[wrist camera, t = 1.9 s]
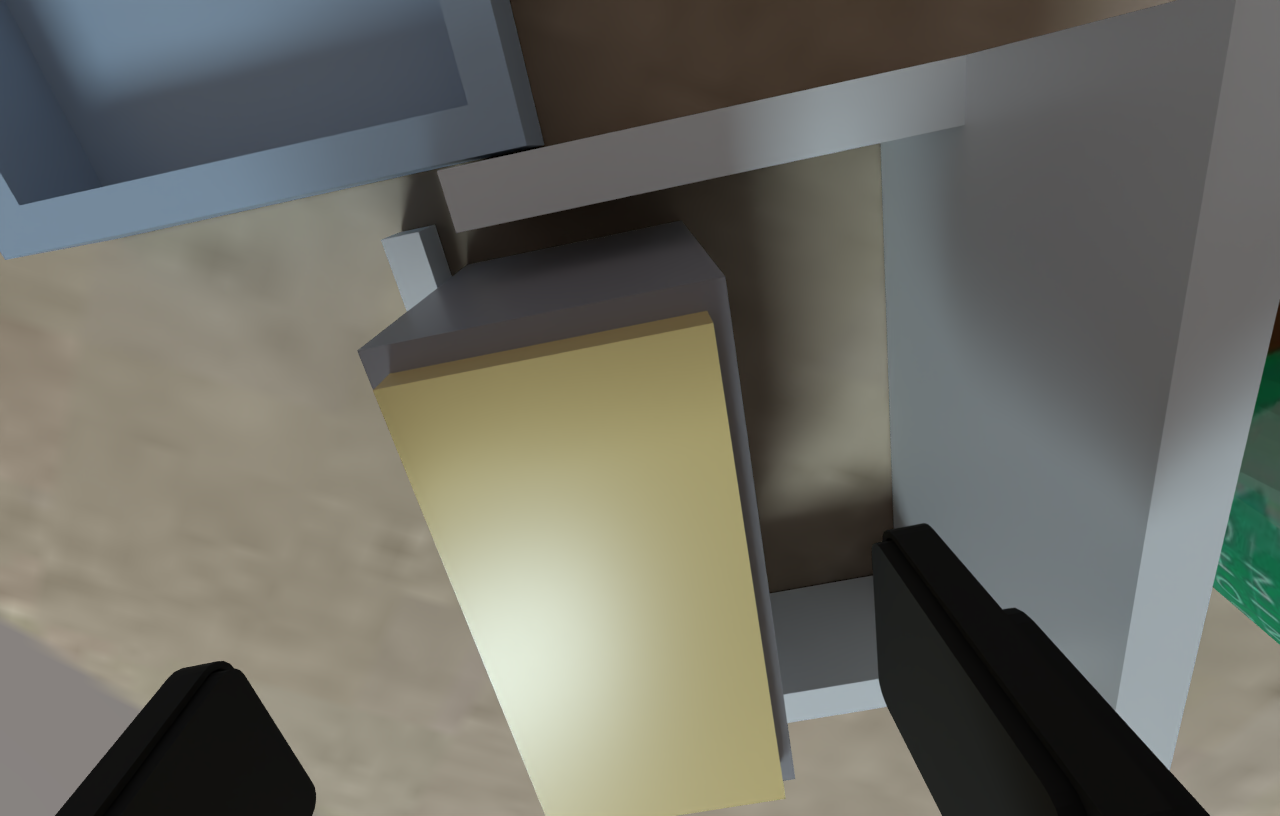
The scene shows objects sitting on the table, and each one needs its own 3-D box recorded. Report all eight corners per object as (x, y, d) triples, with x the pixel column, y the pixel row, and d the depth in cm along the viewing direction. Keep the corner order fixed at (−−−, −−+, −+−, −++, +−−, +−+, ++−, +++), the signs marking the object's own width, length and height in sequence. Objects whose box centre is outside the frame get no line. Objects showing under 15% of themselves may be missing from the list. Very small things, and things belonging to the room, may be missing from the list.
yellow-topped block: (680, 219, 14) (733, 286, 7) (737, 568, 18) (803, 809, 11) (467, 263, 14) (338, 365, 8) (571, 597, 18) (543, 849, 12)
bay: (926, 66, 12) (1360, -42, 5) (929, 592, 18) (1140, 898, 11) (384, 185, 13) (82, 238, 6) (548, 657, 19) (501, 988, 11)
